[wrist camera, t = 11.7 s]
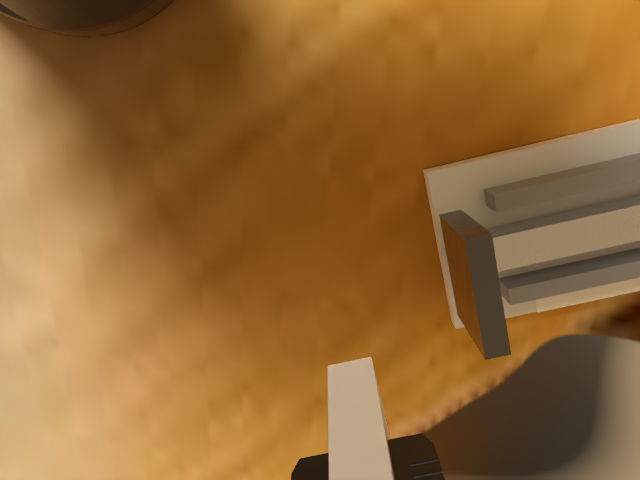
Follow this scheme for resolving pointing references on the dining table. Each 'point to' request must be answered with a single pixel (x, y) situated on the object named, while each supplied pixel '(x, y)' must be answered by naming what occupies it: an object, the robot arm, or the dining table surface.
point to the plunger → (522, 257)
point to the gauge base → (546, 212)
